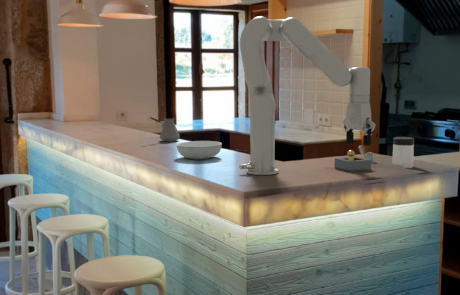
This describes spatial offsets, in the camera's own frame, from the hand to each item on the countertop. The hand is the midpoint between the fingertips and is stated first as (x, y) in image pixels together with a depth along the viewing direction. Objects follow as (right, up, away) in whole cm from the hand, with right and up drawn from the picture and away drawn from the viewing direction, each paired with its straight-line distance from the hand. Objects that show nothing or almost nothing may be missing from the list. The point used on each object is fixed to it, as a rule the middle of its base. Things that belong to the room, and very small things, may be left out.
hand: (358, 144), depth 212 cm
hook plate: (-2, -11, +5) cm, 12 cm away
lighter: (+8, -9, +22) cm, 25 cm away
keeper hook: (-2, -10, +5) cm, 11 cm away
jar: (+22, -10, +15) cm, 29 cm away
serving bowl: (-64, -7, +42) cm, 77 cm away
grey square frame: (-1, -10, +4) cm, 11 cm away
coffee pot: (-87, +2, +100) cm, 133 cm away
